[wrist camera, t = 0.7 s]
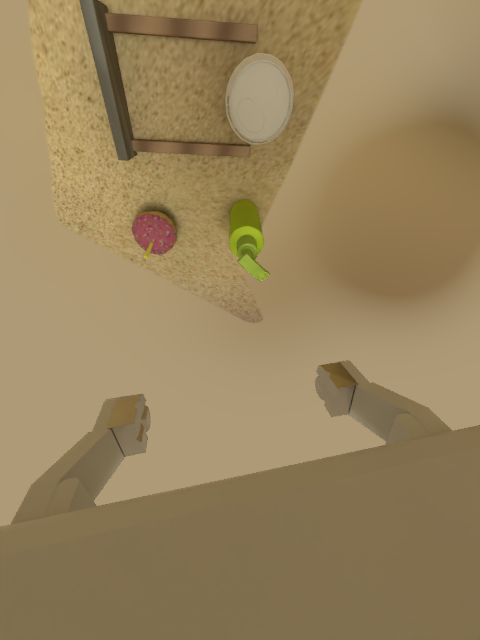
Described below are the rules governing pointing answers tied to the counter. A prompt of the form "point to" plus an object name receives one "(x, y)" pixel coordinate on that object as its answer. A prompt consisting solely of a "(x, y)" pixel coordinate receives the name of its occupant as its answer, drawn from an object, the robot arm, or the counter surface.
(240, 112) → the supplement can
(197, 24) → the u-shaped wooden rack
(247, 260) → the soap dispenser
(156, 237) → the cupcake
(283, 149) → the counter surface
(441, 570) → the robot arm
